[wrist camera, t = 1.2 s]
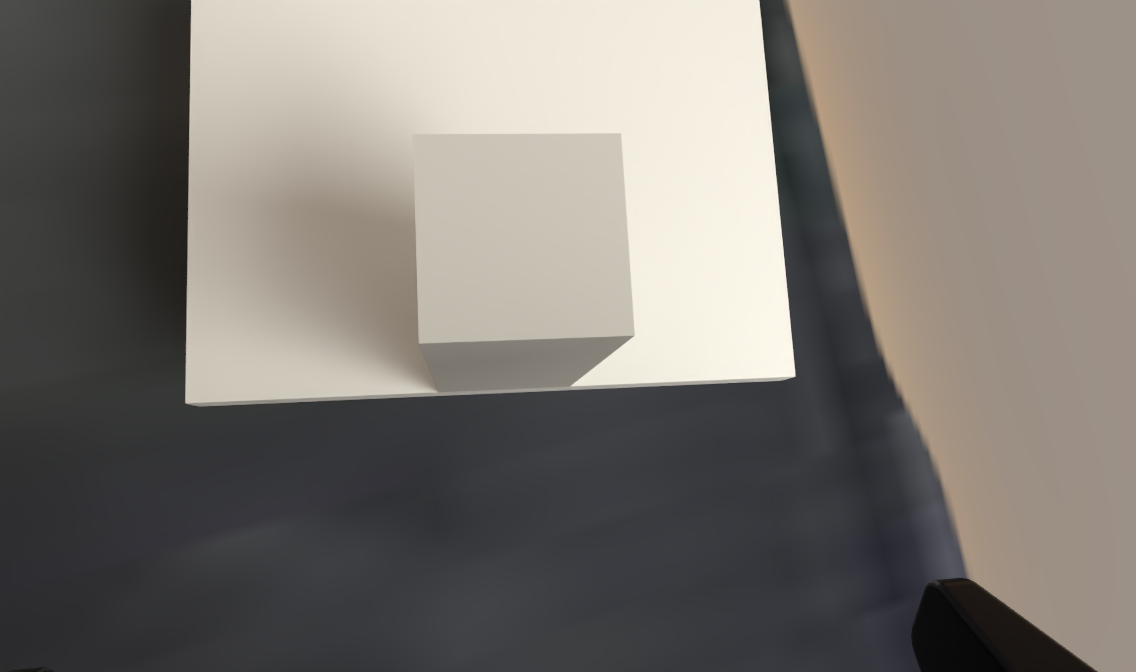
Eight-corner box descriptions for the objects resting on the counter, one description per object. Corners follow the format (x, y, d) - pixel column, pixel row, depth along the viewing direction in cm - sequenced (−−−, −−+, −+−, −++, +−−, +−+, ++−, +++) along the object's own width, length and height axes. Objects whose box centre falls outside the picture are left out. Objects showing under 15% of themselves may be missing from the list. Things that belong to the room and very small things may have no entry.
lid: (781, 380, 18) (991, 322, 11) (199, 406, 16) (-12, 359, 9) (741, -45, 19) (902, -346, 12) (204, -57, 18) (27, -409, 11)
